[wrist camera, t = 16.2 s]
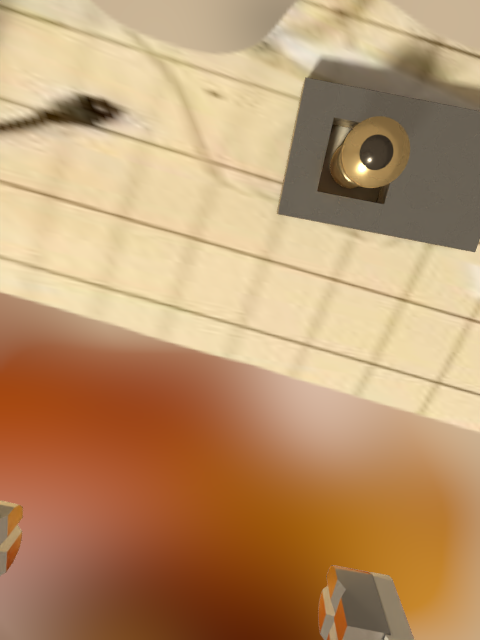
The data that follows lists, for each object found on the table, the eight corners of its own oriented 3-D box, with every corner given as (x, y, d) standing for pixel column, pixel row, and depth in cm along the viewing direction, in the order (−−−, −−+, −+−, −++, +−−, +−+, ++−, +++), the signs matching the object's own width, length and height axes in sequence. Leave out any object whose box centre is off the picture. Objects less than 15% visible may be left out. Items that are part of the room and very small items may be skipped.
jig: (276, 213, 38) (277, 213, 36) (302, 86, 35) (305, 77, 33) (461, 249, 38) (475, 252, 36) (502, 125, 35) (520, 119, 33)
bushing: (320, 187, 37) (335, 180, 29) (332, 132, 36) (352, 110, 28) (370, 197, 37) (399, 192, 29) (384, 142, 36) (419, 123, 28)
